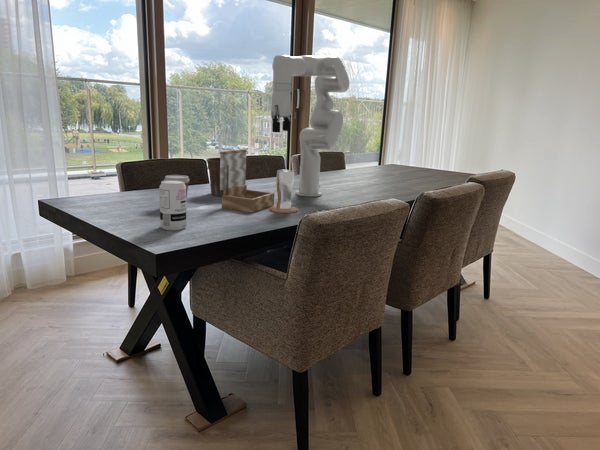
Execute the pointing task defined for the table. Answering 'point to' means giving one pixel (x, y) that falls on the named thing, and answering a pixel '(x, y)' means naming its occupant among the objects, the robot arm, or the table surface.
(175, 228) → the supplement can
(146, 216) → the table surface
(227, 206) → the open wooden box
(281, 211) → the saucer
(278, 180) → the beer glass
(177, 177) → the disposable coffee cup
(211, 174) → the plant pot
